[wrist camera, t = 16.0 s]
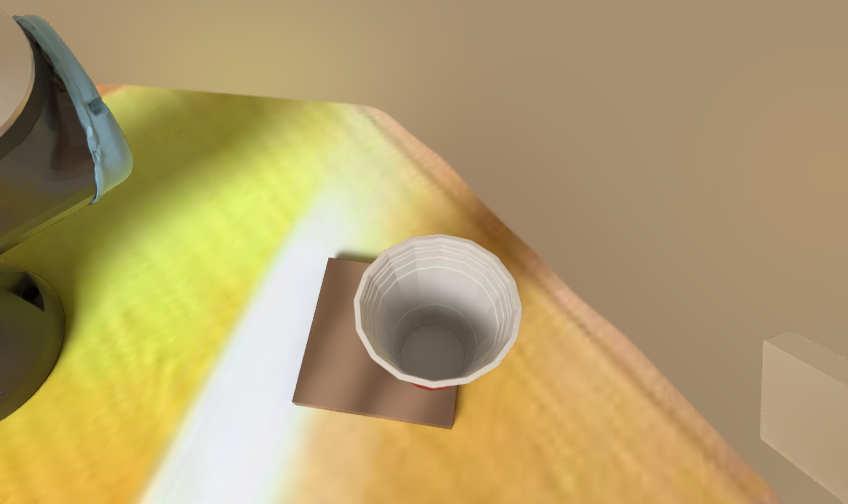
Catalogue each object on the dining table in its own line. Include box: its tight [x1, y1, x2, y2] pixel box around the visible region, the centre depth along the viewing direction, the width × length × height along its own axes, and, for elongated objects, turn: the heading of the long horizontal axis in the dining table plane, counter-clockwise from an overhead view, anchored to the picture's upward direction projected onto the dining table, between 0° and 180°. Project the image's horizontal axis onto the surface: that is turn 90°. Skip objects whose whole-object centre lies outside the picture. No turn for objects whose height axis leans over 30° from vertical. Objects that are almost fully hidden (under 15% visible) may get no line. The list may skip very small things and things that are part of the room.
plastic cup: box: [354, 234, 522, 391], centre depth 39 cm, size 11×11×12 cm
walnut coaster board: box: [292, 258, 457, 429], centre depth 45 cm, size 13×13×2 cm
